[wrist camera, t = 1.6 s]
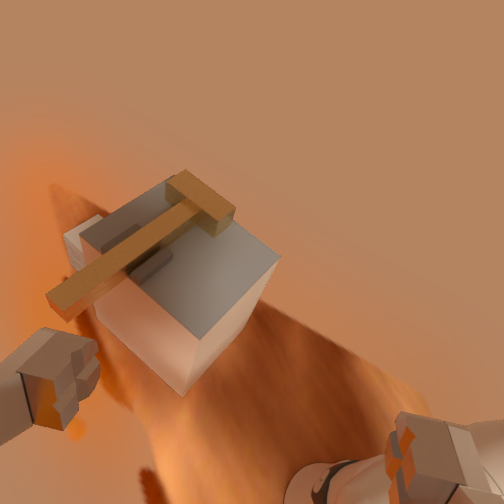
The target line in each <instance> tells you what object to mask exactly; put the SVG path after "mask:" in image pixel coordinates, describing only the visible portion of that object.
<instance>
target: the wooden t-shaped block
mask: <svg viewBox="0 0 504 504" xmlns="http://www.w3.org/2000/svg"><path fill="white" fill-rule="evenodd" d="M165 200H166V201H167V202H168V203H169V204H171V205H172V206H173V207H172V208H171V209H169V210H168V211H166V212H165V213H163V214H162V215H160V216H159V217H157V218H156V219H154V220H153V221H152V222H150V223H149V224H147V225H146V226H144V227H143V228H141V229H140V230H138V231H137V232H135V233H134V234H133V235H131V236H130V237H128V238H127V239H125V240H124V241H122V242H121V243H119V244H118V245H116V246H115V247H114V248H112V249H111V250H109V251H108V252H106V253H105V254H103V255H102V256H100V257H99V258H97V259H96V260H95V261H93V262H92V263H90V264H89V265H87V266H86V267H84V268H83V269H81V270H80V271H78V272H77V273H76V274H74V275H73V276H71V277H70V278H68V279H67V280H65V281H64V282H62V283H61V284H59V285H58V286H57V287H55V288H54V289H52V290H51V291H49V292H48V293H46V294H45V295H46V298H47V300H48V303H49V305H50V307H51V308H52V309H53V310H54V311H55V312H56V313H57V314H59V315H60V317H61V318H63V319H64V320H65V321H66V322H67V323H68V322H69V321H71V320H72V319H73V318H75V317H76V316H77V315H79V314H80V313H81V312H83V311H84V310H85V309H87V308H88V307H89V306H90V305H92V304H93V303H94V302H96V301H97V300H98V299H100V298H101V297H102V296H104V295H105V294H106V293H108V292H109V291H110V290H111V289H113V288H114V287H115V286H117V285H118V284H119V283H121V282H122V281H123V280H125V279H126V278H127V277H129V276H130V275H131V272H133V271H134V270H135V269H137V268H138V267H139V266H141V265H142V264H143V263H145V262H146V261H147V260H148V259H150V258H151V257H152V256H154V255H155V254H156V253H158V252H159V251H160V250H162V249H163V248H164V247H166V248H167V247H168V246H169V245H171V244H172V243H173V242H175V241H176V240H177V239H178V238H180V237H181V236H182V235H184V234H185V233H186V232H188V231H189V230H190V229H192V228H193V227H194V226H196V225H197V226H199V227H200V228H201V229H202V230H204V231H205V232H206V233H207V234H209V235H210V236H211V237H213V238H215V237H217V236H218V235H219V234H220V233H222V232H223V231H224V230H225V229H226V228H228V227H229V226H230V225H231V223H232V219H233V216H234V213H235V209H236V207H235V206H234V205H232V204H231V203H230V202H228V201H227V200H226V199H224V198H223V197H222V196H220V195H219V194H218V193H216V192H215V191H214V190H212V189H211V188H210V187H208V186H207V185H206V184H204V183H203V182H202V181H200V180H199V179H198V178H196V177H195V176H194V175H192V174H191V173H190V172H188V171H187V170H184V171H182V172H180V173H179V174H177V175H175V176H174V177H172V178H171V179H169V180H167V181H166V193H165Z"/></svg>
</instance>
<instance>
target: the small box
mask: <svg viewBox="0 0 504 504" xmlns="http://www.w3.org/2000/svg"><path fill="white" fill-rule="evenodd" d="M101 219H103V217H102V216H100V215H99V214H97V215H95V216H93V217H92V218H90V219H88V220H87V221H85V222H83V223H81V224H80V225H78V226H76V227H75V228H73V229H71V230H69V231H68V232H66V233H64V234H63V237H64V241H65V244H66V248H67V251H68V255H69V259H70V262H71V265H72V266H73V267H74V268H75V269H76V270H77V271H80V270H81V269H83V268H84V267H86V265H85V260H84V256H83V251H82V246H81V241H80V237H79V233H80V232H82V231H84V230H85V229H87V228H88V227H90V226H92V225H93V224H95V223H97V222H98V221H100V220H101Z"/></svg>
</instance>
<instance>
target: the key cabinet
mask: <svg viewBox="0 0 504 504" xmlns="http://www.w3.org/2000/svg"><path fill="white" fill-rule="evenodd" d="M174 176H175V175H173V176H171V177H170V178H168V179H166V180H165V181H163V182H162V183H160V184H158V185H157V186H155V187H154V188H152V189H150V190H149V191H147V192H145V193H144V194H142V195H141V196H139V197H137V198H136V199H134V200H132V201H131V202H129V203H127V204H126V205H124V206H123V207H121V208H119V209H118V210H116V211H115V212H113V213H111V214H110V215H108V216H106V217H105V218H103V219H101V220H100V221H98V222H97V223H95V224H93V225H92V226H90V227H88V228H87V229H85V230H84V231H82V232H80V233H79V237H80V241H81V246H82V251H83V256H84V260H85V265H86V266H87V265H89V264H90V263H92V262H93V261H95V260H96V259H97V258H99V257H100V256H102V255H103V254H105V253H106V252H108V251H109V250H111V249H112V248H114V247H115V246H116V245H118V244H119V243H121V242H122V241H124V240H125V239H127V238H128V237H130V236H131V235H133V234H134V233H135V232H137V231H138V230H140V229H141V228H143V227H144V226H146V225H147V224H149V223H150V222H152V221H153V220H154V219H156V218H157V217H159V216H160V215H162V214H163V213H165V212H166V211H168V210H169V209H171V208H172V207H173V206H172V205H171V204H169V203H168V202H167V201H166V200H165V193H166V181H167V180H169V179H171V178H172V177H174ZM279 259H280V255H278V254H277V253H275V252H274V251H273V250H272V249H270V248H269V247H268V246H267V245H265V244H264V243H263V242H261V241H260V240H259V239H257V238H256V237H255V236H254V235H252V234H251V233H249V232H248V231H247V230H246V229H244V228H243V227H242V226H240V225H239V224H238V223H236V222H235V221H234V220H233V219H232V223H231V225H230V226H229V227H228V228H226V229H225V230H224V231H223V232H222V233H220V234H219V235H218V236H217V237H215V238H213V237H211V236H210V235H209V234H207V233H206V232H205V231H204V230H202V229H201V228H200V227H199V226H197V225H196V226H194V227H193V228H192V229H190V230H189V231H188V232H186V233H185V234H184V235H182V236H181V237H180V238H178V239H177V240H176V241H175V242H173V243H172V244H171V245H169V246H168V247H167V248H166V247H164V248H163V249H162V250H160V251H159V252H158V253H156V254H155V255H154V256H152V257H151V258H150V259H148V260H147V261H146V262H145V263H143V264H142V265H141V266H139V267H138V268H137V269H135V270H134V271H133V272H131V275H130V276H129V277H127V278H126V279H125V280H123V281H122V282H121V283H119V284H118V285H117V286H115V287H114V288H113V289H111V290H110V291H109V292H108V293H106V294H105V295H104V296H102V297H101V298H100V299H98V300H97V301H96V302H94V307H95V312H96V316H97V319H98V320H99V321H100V322H101V323H102V324H103V325H104V326H105V327H106V328H107V329H109V330H110V331H111V332H112V333H113V334H114V335H115V336H116V337H117V338H118V339H119V340H120V341H121V342H123V343H124V344H125V345H126V346H127V347H128V348H129V349H130V350H131V351H132V352H133V353H134V354H135V355H137V356H138V357H139V358H140V359H141V360H142V361H143V362H144V363H145V364H146V365H147V366H148V367H149V368H151V369H152V370H153V371H154V372H155V373H156V374H157V375H158V376H159V377H160V378H161V379H162V380H163V381H165V382H166V383H167V384H168V385H169V386H170V387H171V388H172V389H173V390H174V391H175V392H176V393H177V394H179V395H180V396H181V397H183V396H184V395H185V394H186V393H187V392H188V390H189V389H190V388H191V387H192V386H193V385H194V384H195V383H196V381H197V380H198V379H199V378H200V377H201V376H202V375H203V374H204V373H205V371H206V370H207V369H208V368H209V367H210V366H211V365H212V364H213V362H214V361H215V360H216V359H217V358H218V357H219V356H220V355H221V354H222V352H223V351H224V350H225V349H226V348H227V347H228V346H229V345H230V344H231V342H232V341H233V340H234V339H235V338H236V337H237V336H238V335H239V333H240V332H241V331H242V330H243V329H244V327H245V325H246V323H247V321H248V319H249V317H250V315H251V313H252V311H253V309H254V307H255V305H256V304H257V302H258V300H259V298H260V296H261V294H262V292H263V290H264V288H265V286H266V284H267V282H268V280H269V278H270V276H271V274H272V272H273V270H274V268H275V266H276V264H277V263H278V261H279Z"/></svg>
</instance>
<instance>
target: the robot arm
mask: <svg viewBox="0 0 504 504" xmlns="http://www.w3.org/2000/svg"><path fill="white" fill-rule="evenodd" d="M98 351H99V350H98V344H97V341H95V340H93V339H89V338H86V337H82V336H78V335H74V334H70V333H66V332H63V331H58V330H54V329H50V328H46V327H44V328H42V329H39V330H38V331H36V333H34V334H33V335H32V336H31V337H30V338H29V339H27V340H26V341H25V342H24V343H23V344H22V345H21V346H19V347H18V348H17V349H16V350H15V351H14V352H13V353H12V354H11V355H9V356H8V357H7V358H6V359H5V360H4V361H3V362H1V363H0V446H1V445H3V444H4V443H6V442H8V441H9V440H11V439H12V438H14V437H16V436H17V435H19V434H20V433H22V432H24V431H25V430H27V429H29V428H30V427H32V426H33V424H35V425H39V426H44V427H48V428H52V429H56V430H60V431H64V429H65V428H66V427H67V425H68V424H69V423H70V421H71V420H72V419H73V417H74V416H75V415H76V413H77V412H78V411H79V402H80V401H82V400H83V399H86V398H87V397H89V396H90V394H91V393H92V391H93V390H94V389H95V387H96V385H97V382H98V380H99V377H100V370H101V369H100V362H99V361H98V360H97V358H96V357H95V354H96V353H97V352H98ZM395 425H396V430H395V431H393V432H391V433H390V434H389V437H388V440H387V442H386V449H385V453H384V454H381V455H378V456H375V457H372V458H368V459H365V460H362V461H361V460H343V461H340V462H337V463H335V464H327V463H314V464H310V465H308V466H305V467H304V468H302V469H301V470H300V471H298V472H297V473H296V475H295V476H294V477H293V478H292V480H291V482H290V483H289V486H288V488H287V491H286V494H285V499H284V504H504V420H494V421H486V422H479V423H474V424H471V425H467V426H464V425H460V424H455V423H451V422H446V421H441V420H437V419H433V418H429V417H424V416H420V415H415V414H411V413H406V412H402V411H401V412H400V413H399V414H398V416H397V418H396V420H395Z"/></svg>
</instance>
